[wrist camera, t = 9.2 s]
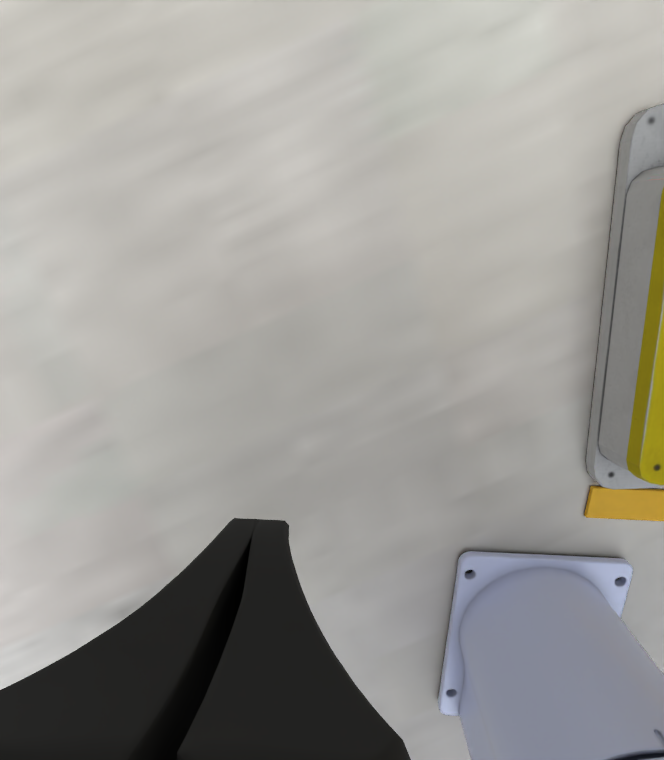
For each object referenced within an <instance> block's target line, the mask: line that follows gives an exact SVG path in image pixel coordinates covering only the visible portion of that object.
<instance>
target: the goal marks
mask: <svg viewBox="0 0 664 760" xmlns="http://www.w3.org/2000/svg"><path fill="white" fill-rule="evenodd" d="M584 516H585V517H587V518H608V519H629V520H650V521H664V490H663V489H642V488H638V489H615V490H613V489H609V488H605V487H601V486H591V487H590V492H589V496H588V501H587V505H586V509H585V514H584Z"/></svg>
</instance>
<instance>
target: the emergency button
mask: <svg viewBox="0 0 664 760" xmlns="http://www.w3.org/2000/svg"><path fill="white" fill-rule="evenodd" d="M586 465H587V472H588V473H589V475H590V476H591V477H592V478H593V479H594V480H595V481H596V482H597V483H599V484H600V485H601V486H602V487H605V488H609V489H613V490H615V489H638V488H661V487H664V104H660V105H658V106H655V107H652V108H649V109H647V110H644V111H641V112H639V113H636V114H635V116H634V117H633V118H632V119H631V120H630V121H629V123H628V124H627V125H626V126H625V129H624V132H623V135H622V139H621V142H620V148H619V157H618V167H617V176H616V185H615V195H614V204H613V213H612V223H611V232H610V241H609V250H608V260H607V269H606V278H605V288H604V297H603V306H602V316H601V325H600V334H599V344H598V353H597V362H596V371H595V381H594V390H593V399H592V409H591V418H590V427H589V437H588V446H587V455H586Z"/></svg>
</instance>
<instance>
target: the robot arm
mask: <svg viewBox="0 0 664 760" xmlns="http://www.w3.org/2000/svg"><path fill="white" fill-rule="evenodd" d="M288 538H289V525H288V524H287V523H286V522H285V521H281V520H260V519H239V518H234V519H233V520H232V521H230V522H229V523H228V524H227V525H226V527H225V528H224V529H223V530H222V531H221V532H220V533H219V534H218V535H217V537H216V538H215V539H214V540H213V541H212V542H211V543H210V544H209V545H208V546H207V547H206V548H205V549H204V550H203V551H202V552H201V553H200V554H199V555H198V556H197V557H196V558H195V559H194V560H193V561H192V562H191V563H190V564H189V565H188V566H187V567H186V568H185V569H184V570H183V571H182V572H181V573H180V574H179V575H178V576H177V577H175V578H174V579H173V580H172V581H171V582H170V583H169V584H168V585H166V586H165V587H164V588H163V589H162V590H161V591H160V592H159V593H157V594H156V595H155V596H154V597H153V598H151V599H150V600H149V601H148V602H146V603H145V604H144V605H143V606H141V607H140V608H139V609H137V610H136V611H135V612H133V613H132V614H131V615H129V616H128V617H127V618H125V619H124V620H122V621H121V622H120V623H118V624H117V625H115V626H114V627H112V628H110V629H109V630H107V631H106V632H104V633H103V634H101V635H99V636H98V637H96V638H95V639H93V640H91V641H90V642H88V643H87V644H85V645H84V646H82V647H80V648H79V649H77V650H76V651H74V652H72V653H71V654H69V655H67V656H65V657H63V658H62V659H60V660H58V661H56V662H54V663H53V664H51V665H49V666H47V667H45V668H43V669H42V670H40V671H38V672H36V673H34V674H32V675H30V676H28V677H26V678H24V679H22V680H20V681H18V682H16V683H14V684H12V685H10V686H8V687H6V688H4V689H2V690H0V760H411V759H410V757H409V754H408V752H407V749H406V747H405V744H404V742H403V740H402V739H401V738H400V737H399V736H398V734H397V733H396V732H395V731H394V730H393V729H392V728H391V727H390V726H389V725H388V724H387V723H386V722H385V720H384V719H383V718H382V717H381V716H380V715H379V713H378V712H377V711H376V710H375V709H374V708H373V706H372V705H371V704H370V703H369V701H368V700H367V699H366V698H365V696H364V695H363V694H362V693H361V691H360V690H359V689H358V687H357V686H356V685H355V684H354V682H353V681H352V679H351V678H350V676H349V675H348V673H347V672H346V670H345V669H344V667H343V666H342V664H341V663H340V662H339V660H338V659H337V657H336V656H335V654H334V653H333V651H332V649H331V648H330V646H329V644H328V642H327V641H326V639H325V637H324V636H323V634H322V632H321V630H320V628H319V626H318V624H317V622H316V620H315V618H314V616H313V614H312V612H311V610H310V608H309V605H308V603H307V601H306V598H305V596H304V593H303V591H302V588H301V585H300V583H299V580H298V577H297V573H296V570H295V567H294V564H293V560H292V556H291V552H290V546H289V540H288ZM467 570H473V571H472V572H471V573H469V574H466V573H465V572H466V571H467ZM632 574H633V567H632V565H631V564H630V563H629V562H628V561H627V560H625V559H622V558H604V557H583V556H561V555H540V554H519V553H497V552H476V551H469V552H465V553H463V554H462V555H461V556H460V558H459V561H458V568H457V575H456V582H455V588H454V595H453V602H452V609H451V616H450V622H449V629H448V636H447V643H446V650H445V656H444V663H443V670H442V677H441V684H440V690H439V697H438V706H439V710H440V712H441V713H443V714H444V715H453V716H460V720H461V723H462V727H463V731H464V735H465V738H466V742H467V746H468V750H469V753H470V757H471V760H664V674H663V673H662V672H661V670H660V669H659V668H658V667H657V665H656V664H655V663H654V661H653V660H652V659H651V657H650V656H649V655H648V653H647V652H646V651H645V650H644V648H643V647H642V646H641V644H640V643H639V642H638V640H637V639H636V638H635V637H634V635H633V634H632V633H631V631H630V630H629V629H628V627H627V626H626V625H625V624H624V622H623V621H622V620H621V615H622V612H623V608H624V604H625V600H626V597H627V593H628V589H629V585H630V582H631V578H632ZM618 577H620V579H618V580H616V579H617V578H618ZM449 689H452V690H449Z"/></svg>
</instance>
